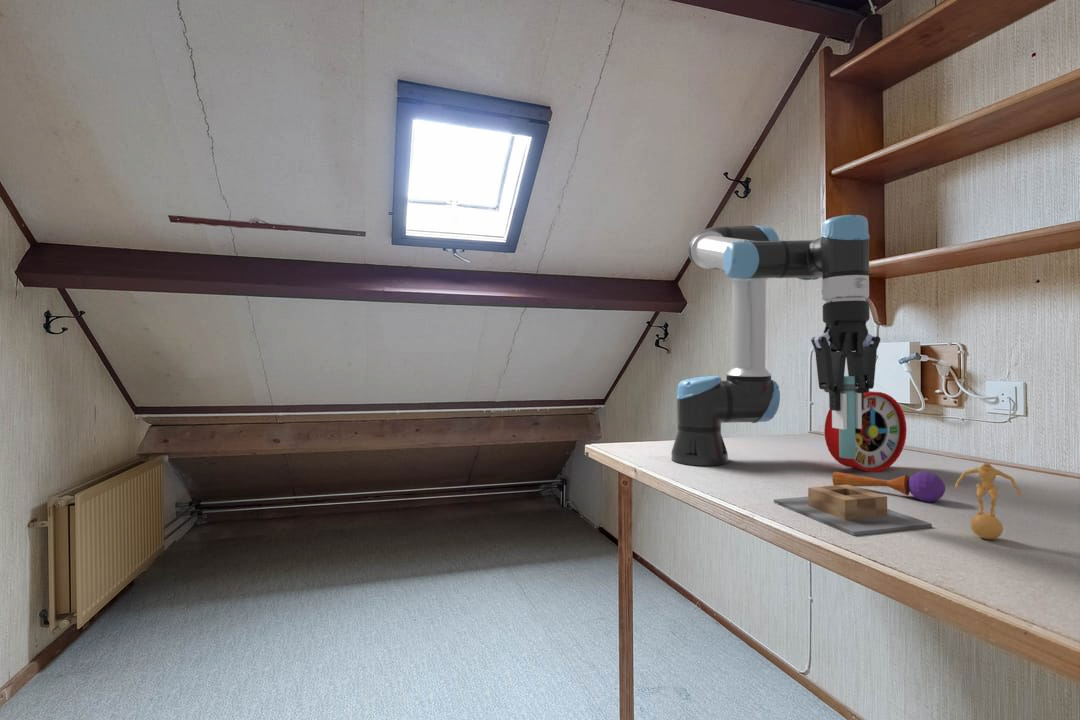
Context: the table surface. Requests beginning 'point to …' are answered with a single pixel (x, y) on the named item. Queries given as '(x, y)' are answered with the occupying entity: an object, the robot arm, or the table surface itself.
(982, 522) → the figurine
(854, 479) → the kendama
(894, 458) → the toy clock
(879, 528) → the gray base plate
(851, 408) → the banded teal rod
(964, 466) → the table surface
